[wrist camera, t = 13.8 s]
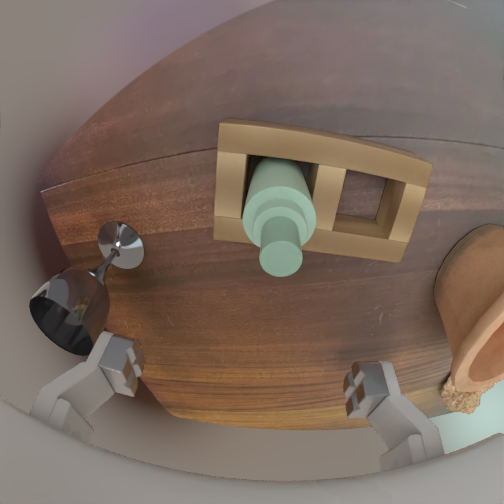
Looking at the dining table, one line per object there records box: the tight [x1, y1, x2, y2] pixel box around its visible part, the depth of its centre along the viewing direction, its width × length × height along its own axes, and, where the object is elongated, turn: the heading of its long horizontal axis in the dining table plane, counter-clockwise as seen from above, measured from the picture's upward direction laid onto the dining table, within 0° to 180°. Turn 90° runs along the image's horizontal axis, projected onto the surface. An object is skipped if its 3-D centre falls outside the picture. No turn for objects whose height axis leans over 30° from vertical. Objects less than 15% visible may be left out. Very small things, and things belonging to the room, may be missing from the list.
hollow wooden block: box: [213, 118, 433, 263], centre depth 26 cm, size 11×20×4 cm, turn 84°
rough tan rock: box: [442, 375, 495, 414], centre depth 45 cm, size 18×14×8 cm
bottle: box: [243, 157, 316, 277], centre depth 22 cm, size 5×5×15 cm
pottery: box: [434, 224, 504, 392], centre depth 26 cm, size 22×22×14 cm
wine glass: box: [29, 222, 144, 356], centre depth 27 cm, size 8×8×15 cm
